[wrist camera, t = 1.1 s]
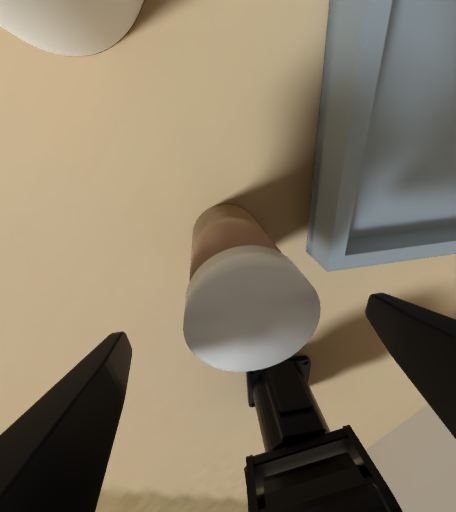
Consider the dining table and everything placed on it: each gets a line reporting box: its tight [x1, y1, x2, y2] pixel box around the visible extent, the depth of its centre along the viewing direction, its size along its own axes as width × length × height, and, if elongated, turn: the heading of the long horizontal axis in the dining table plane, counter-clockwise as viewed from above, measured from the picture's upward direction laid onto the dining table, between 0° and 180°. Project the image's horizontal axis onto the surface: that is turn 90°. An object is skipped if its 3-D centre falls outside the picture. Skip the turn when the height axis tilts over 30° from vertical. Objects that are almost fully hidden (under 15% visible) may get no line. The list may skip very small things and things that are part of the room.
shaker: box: [183, 204, 320, 372], centre depth 11 cm, size 5×5×8 cm
